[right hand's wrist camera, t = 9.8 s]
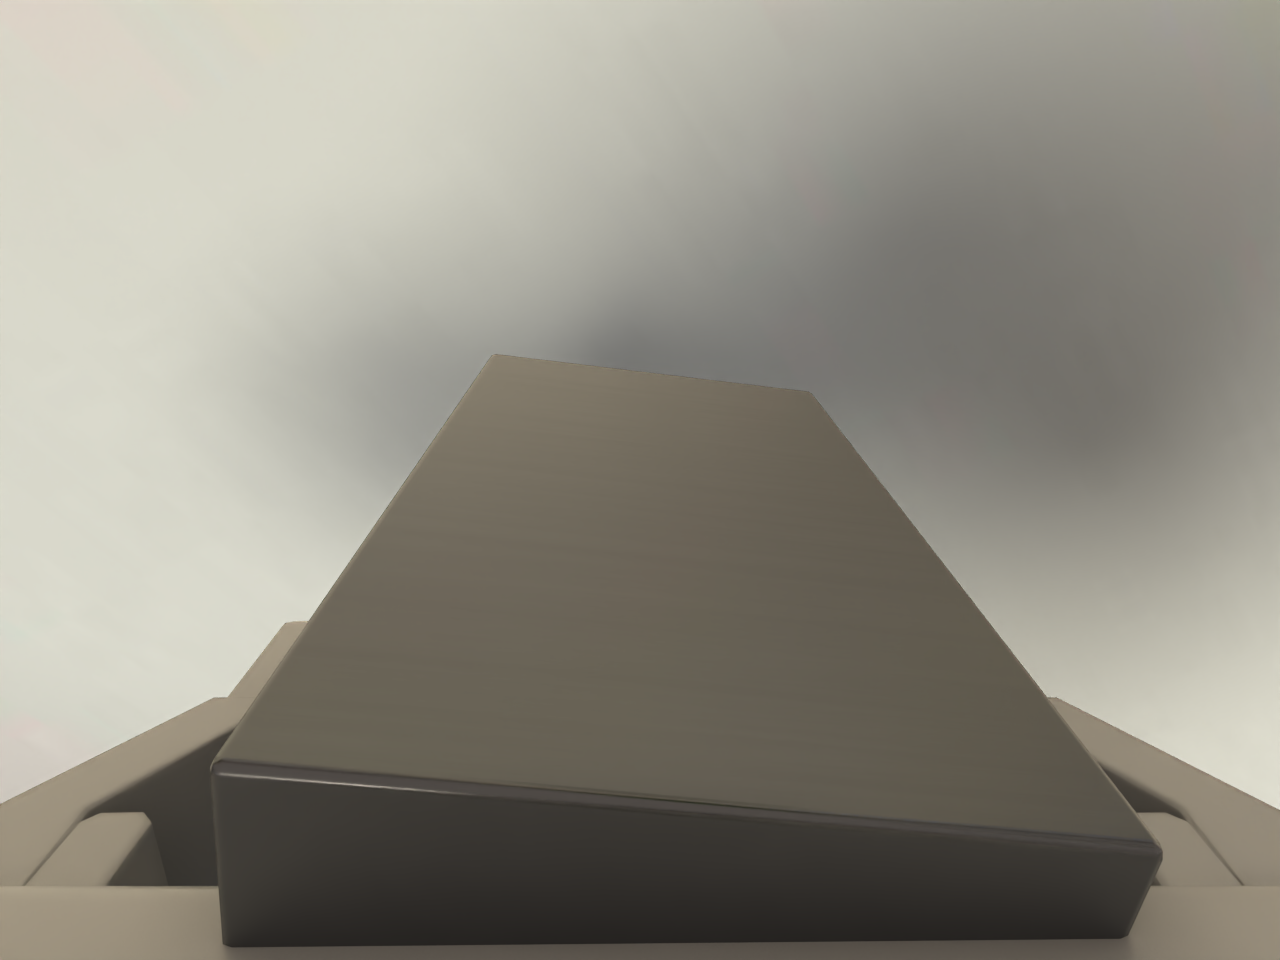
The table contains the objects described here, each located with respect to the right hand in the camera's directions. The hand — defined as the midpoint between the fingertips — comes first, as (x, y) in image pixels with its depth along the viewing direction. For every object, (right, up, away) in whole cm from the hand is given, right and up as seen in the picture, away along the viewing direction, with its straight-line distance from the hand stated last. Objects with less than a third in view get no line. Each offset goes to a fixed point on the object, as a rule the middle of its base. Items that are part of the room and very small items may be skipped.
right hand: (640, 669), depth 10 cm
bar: (-1, -7, +7) cm, 11 cm away
